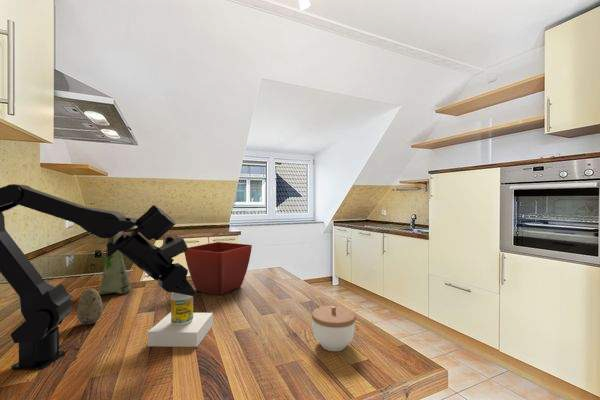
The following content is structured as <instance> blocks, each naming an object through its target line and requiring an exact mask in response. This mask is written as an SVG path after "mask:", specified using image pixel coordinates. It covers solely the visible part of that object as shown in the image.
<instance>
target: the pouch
mask: <svg viewBox="0 0 600 400" xmlns="http://www.w3.org/2000/svg"><path fill="white" fill-rule="evenodd" d="M119 237H120V236H119V234H118V235H116V236H113V237H111V238H108V241H107V242H113V241H115V240H117V239H118V238H119ZM105 254H106V257H105V259H104V261H105V262H104V263H105V264H104V267H103V270H102V271H103V272H102V278H101V280H100V281H101V282H100V287H99V291H98V293H99V295H106V294H107V295H108V294H121V295H122V294H126V293H129V292H130V291H131V289H132V287H131V283H130V280H129V276H128V272H127V269H126V265H125V262H124V255H122V254H121V253H120V252H118V251H116V252H115V253H114V254H112V255H111V256H110V257H108V256H107V249H106V252H105Z"/></svg>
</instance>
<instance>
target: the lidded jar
mask: <svg viewBox="0 0 600 400" xmlns="http://www.w3.org/2000/svg"><path fill="white" fill-rule="evenodd" d="M356 318H357V316H356V314H355V312H354V311H353V310H351V309H349V308H348V307H343V306H337V305H325V306H319V307H317V308H314V310H313V311H312V312H311V319H312V320H311V322H312V323H311V324H312V332H313V335H314V337H315V339H316V341H317V342H318V343H319V344H320V346H321V348H323V349H324V350H327V351H328V352H340V351H344V350H345V348H346V347H347V346H348V345H349V344H351V342H352V340H353V337H354V335H355V330H356Z"/></svg>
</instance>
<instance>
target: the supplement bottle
mask: <svg viewBox="0 0 600 400" xmlns="http://www.w3.org/2000/svg"><path fill="white" fill-rule="evenodd" d="M170 312H171V323H172V324H173V325H185V324H188V323H190V322H191V321H192V320H193V313H194V296H189V295H184V294H179V293H173V292H172V294H171V296H170Z"/></svg>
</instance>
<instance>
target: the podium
mask: <svg viewBox="0 0 600 400" xmlns="http://www.w3.org/2000/svg"><path fill="white" fill-rule="evenodd" d="M213 319H214V313H213V312H193V320H192V321H191V322H190V323H188V324H185V325H173V324H172V323H171V311H170V312H169V313H168V314H167V315H165V317H163V318H162V319H161V320H160V321H159V322H157V323H156V324H155V325H154V326H153V327H152V328H151V329H149V330H148V331H147V347H163V348H164V347H168V348H169V347H172V348H175V347H176V348H177V347H178V348H179V347H180V348H181V347H182V348H184V347H186V348H197V347H198V346H199V345H200V344H201V342H202V341H203V339H204V338H205V337H206V335H207V334H208V332H209V331H210V330H211V328H212V327H213V326H214V325H213V324H214V322H213V321H214V320H213Z"/></svg>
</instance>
